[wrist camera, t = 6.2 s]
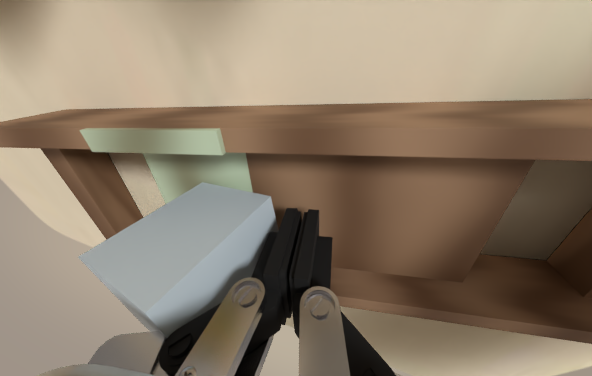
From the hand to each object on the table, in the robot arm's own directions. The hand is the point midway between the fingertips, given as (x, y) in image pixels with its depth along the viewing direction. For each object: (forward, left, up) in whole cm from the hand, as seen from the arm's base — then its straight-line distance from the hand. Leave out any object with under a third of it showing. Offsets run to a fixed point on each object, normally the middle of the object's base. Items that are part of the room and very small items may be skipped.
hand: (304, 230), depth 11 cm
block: (+4, 0, -1) cm, 4 cm away
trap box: (0, 0, -4) cm, 4 cm away
